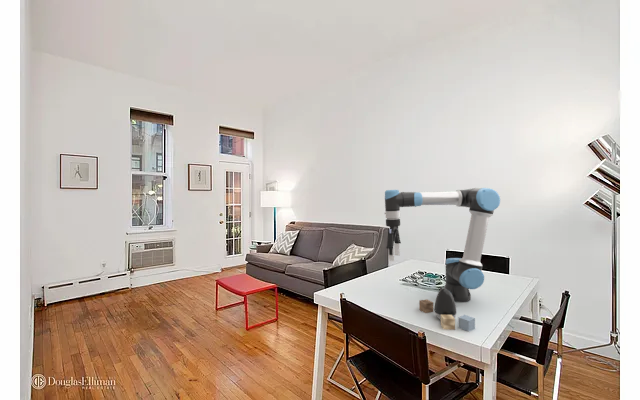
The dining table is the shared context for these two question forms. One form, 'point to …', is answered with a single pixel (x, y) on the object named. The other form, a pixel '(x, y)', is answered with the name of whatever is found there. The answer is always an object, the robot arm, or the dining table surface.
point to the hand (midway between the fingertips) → (394, 258)
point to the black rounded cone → (444, 303)
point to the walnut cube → (426, 306)
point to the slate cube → (466, 323)
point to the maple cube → (448, 322)
